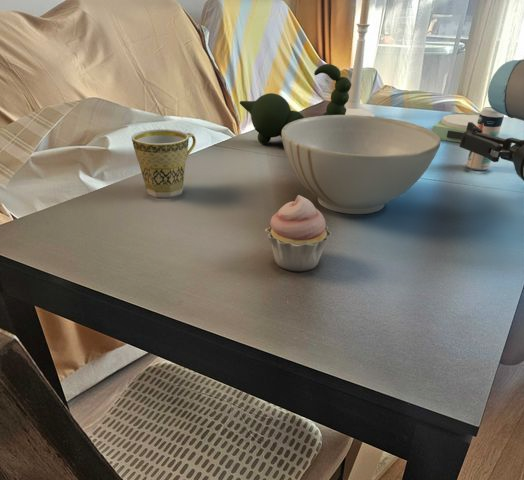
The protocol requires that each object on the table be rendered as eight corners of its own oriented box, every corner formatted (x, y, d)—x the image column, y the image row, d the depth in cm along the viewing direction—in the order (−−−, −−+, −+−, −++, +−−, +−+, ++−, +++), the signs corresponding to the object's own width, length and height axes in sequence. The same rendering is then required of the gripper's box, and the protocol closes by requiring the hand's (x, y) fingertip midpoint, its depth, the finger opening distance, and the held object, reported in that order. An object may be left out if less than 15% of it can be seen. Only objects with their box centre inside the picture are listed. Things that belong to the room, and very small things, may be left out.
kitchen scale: (497, 134, 135) (502, 118, 133) (486, 147, 125) (490, 130, 123) (445, 126, 141) (448, 111, 138) (430, 138, 131) (433, 121, 128)
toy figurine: (338, 151, 125) (241, 134, 128) (355, 65, 114) (248, 47, 116) (335, 162, 118) (232, 143, 120) (353, 71, 106) (238, 53, 109)
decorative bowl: (256, 215, 87) (257, 142, 80) (304, 170, 107) (308, 109, 100) (413, 243, 80) (430, 165, 72) (433, 189, 100) (448, 124, 92)
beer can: (469, 163, 114) (485, 105, 107) (491, 167, 112) (508, 108, 105) (462, 168, 111) (478, 109, 104) (484, 173, 109) (502, 112, 102)
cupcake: (267, 246, 78) (269, 181, 72) (327, 250, 77) (335, 185, 71) (260, 275, 70) (262, 205, 64) (327, 280, 70) (335, 210, 64)
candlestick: (322, 117, 146) (333, -10, 128) (342, 109, 155) (355, -11, 137) (362, 124, 141) (379, -8, 123) (381, 116, 149) (400, -8, 131)
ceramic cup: (161, 205, 90) (155, 147, 84) (127, 191, 95) (120, 135, 89) (214, 188, 98) (212, 133, 92) (180, 175, 103) (177, 123, 97)
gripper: (461, 184, 83) (434, 148, 100) (615, 191, 83) (561, 153, 100) (474, 136, 79) (443, 107, 96) (637, 143, 78) (577, 112, 95)
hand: (503, 131), depth 98 cm, fingers open, 13 cm apart
